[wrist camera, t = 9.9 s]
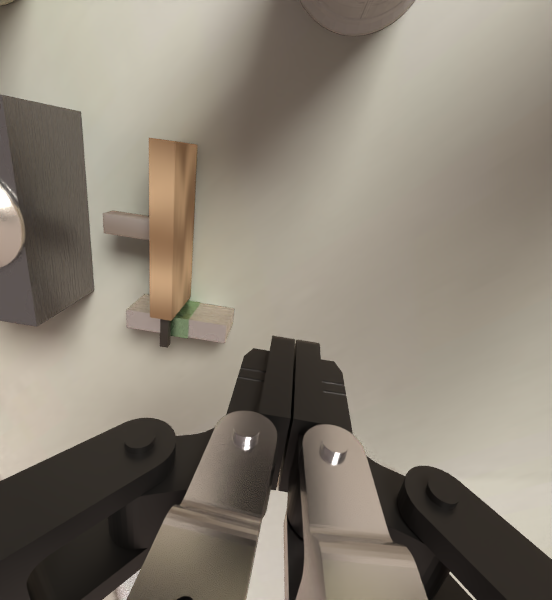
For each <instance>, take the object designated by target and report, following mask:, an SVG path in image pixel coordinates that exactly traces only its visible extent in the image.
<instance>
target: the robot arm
mask: <svg viewBox="0 0 552 600" xmlns="http://www.w3.org/2000/svg"><path fill="white" fill-rule="evenodd" d="M294 348H295V349H294ZM279 472H280V477H279ZM278 477H279V490H278V491H284V492H288V502H287V510H286V515H285V519H284V589H285V600H473V599H472V598H471V597H470V596H469V595H468V594H467V593H466V592H465V591H464V590H463V588H462V587H461V586H460V585H459V584H458V583H457V582H456V581H455V580H454V579H453V578H452V577H451V575H450V574H449V572H451V573H452V574H453V575H454V576H455V577H456V578H457V579H458V580H459V581H460V582H461V583H462V584H463V586H464V587H465V588H466V589H467V590H468V591H469V592H470V593H471V594H472V595H473V596H474V597H475V598H476V600H552V559H551V558H549V557H548V556H547V555H546V554H545V553H543V552H542V551H541V550H540V549H539V548H538V547H536V546H535V545H534V544H533V543H532V542H530V541H529V540H528V539H527V538H526V537H525V536H523V535H522V534H521V533H520V532H519V531H517V530H516V529H515V528H514V527H513V526H512V525H510V524H509V523H508V522H507V521H506V520H504V519H503V518H502V517H501V516H500V515H499V514H497V513H496V512H495V511H494V510H493V509H491V508H490V507H489V506H488V505H487V504H486V503H484V502H483V501H482V500H481V499H480V498H478V497H477V496H476V495H475V494H474V493H473V492H471V491H470V490H469V489H468V488H467V487H465V486H464V485H463V484H462V483H461V482H460V481H458V480H457V479H456V478H454V477H453V476H451V475H450V474H448V473H446V472H444V471H442V470H440V469H437V468H434V467H430V466H417V467H414V468H412V469H410V470H409V471H408V473H407V474H406V476H403V475H401V474H399V473H397V472H394V471H392V470H390V469H388V468H385V467H383V466H381V465H379V464H377V463H376V462H374V461H373V460H371V459H370V458H369V457H367V456H366V453H365V450H364V448H363V446H362V444H361V442H360V441H359V440H358V439H357V438H356V437H355V436H354V435H353V433H352V427H351V421H350V415H349V409H348V404H347V398H346V392H345V386H344V380H343V374H342V372H341V370H340V369H339V368H338V366H337V365H336V364H335V362H333V361H327V360H321V356H320V344H319V343H314V342H308V341H302V340H296V344H295V339H289V338H283V337H277V336H272V341H271V347H270V351H266V350H260V349H254V348H253V349H252V350H251V351H250V352H249V353H247V354H246V355H245V356H244V358H243V362H242V365H241V369H240V371H239V375H238V378H237V381H236V385H235V388H234V391H233V394H232V398H231V401H230V404H229V408H228V411H227V414H226V416H224V417H223V418H221V419H220V420H219V422H218V423H217V425H216V427H215V428H213V429H211V430H209V431H206V432H203V433H200V434H193V435H183V436H175V433H174V430H173V429H172V428H171V426H169V425H168V424H167V423H165V422H164V421H161V420H159V419H154V418H139V419H134V420H130V421H128V422H125V423H123V424H121V425H119V426H117V427H114V428H112V429H110V430H108V431H106V432H104V433H102V434H100V435H97V436H95V437H93V438H91V439H89V440H87V441H85V442H83V443H80V444H78V445H76V446H74V447H72V448H70V449H68V450H66V451H63V452H61V453H59V454H57V455H55V456H53V457H51V458H49V459H47V460H44V461H42V462H40V463H38V464H36V465H34V466H32V467H30V468H27V469H25V470H23V471H21V472H19V473H17V474H15V475H13V476H10V477H8V478H6V479H4V480H2V481H0V600H102V599H104V598H105V597H106V596H107V595H109V594H110V593H111V592H112V591H114V590H115V589H116V588H117V587H119V586H120V585H121V584H122V583H124V582H125V581H126V580H127V579H128V578H130V577H131V576H132V575H133V574H135V573H136V572H137V571H138V570H140V569H141V570H140V572H139V574H138V576H137V578H136V581H135V583H134V585H133V587H132V589H131V591H130V593H129V596H128V598H127V600H246V598H247V593H248V588H249V583H250V577H251V572H252V567H253V562H254V557H255V552H256V547H257V542H258V537H259V532H260V527H261V522H262V518H263V517H264V515H265V513H266V510H267V505H268V500H269V495H270V490H276V487H277V482H278Z"/></svg>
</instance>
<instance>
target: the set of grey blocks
mask: <svg viewBox="0 0 552 600" xmlns="http://www.w3.org/2000/svg"><path fill="white" fill-rule="evenodd" d="M92 291H94V281H93V268H92V255H91V241H90V228H89V214H88V201H87V188H86V174H85V161H84V147H83V134H82V121H81V112H80V111H75V110H71V109H66V108H61V107H56V106H52V105H47V104H42V103H38V102H33V101H28V100H24V99H19V98H14V97H9V96H5V95H0V321H6V322H12V323H19V324H25V325H31V326H39V325H40V324H42V323H43V322H45V321H46V320H48V319H50V318H51V317H53V316H54V315H56V314H58V313H59V312H61V311H62V310H64V309H65V308H67V307H69V306H70V305H72V304H73V303H75V302H77V301H78V300H80V299H81V298H83V297H85V296H86V295H88V294H89V293H91V292H92ZM233 316H234V308H228V307H221V306H215V305H209V304H202V303H200V302H193V301H187V302H186V303H185V305H184V306H183V307H182V308H181V309H180V311H179V312H178V313H177V314H176V316H175V317H174V318H173V319H172V321H171V334H170V336H175V337H182V338H188V337H189V338H195V339H202V340H208V341H214V342H220V343H225V342H226V339H227V337H228V335H229V332H230V330H231V327H232V325H233ZM126 317H127V328H133V329H139V330H146V331H152V332H158V333H160V319H157V318H151V317H150V295H146V294H144V295H143V296H142V297H140V298H139V299H138V300H137V301H136V302H135V303H133V304H132V305H131V306H130V307H129V308H128V309H126Z"/></svg>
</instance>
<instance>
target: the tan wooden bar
mask: <svg viewBox="0 0 552 600" xmlns="http://www.w3.org/2000/svg"><path fill="white" fill-rule="evenodd" d="M196 164H197V145H196V144H189V143H182V142H176V141H169V140H161V139H154V138H149V216H144V215H138V214H132V213H125V212H119V211H110V212H106V213H103V227H104V233H106V234H113V235H119V236H125V237H132V238H138V239H144V240H149V253H150V317H151V318H157V319H160V346H161V347H167V348H168V346H169V345H170V334H171V321H172V319H173V318H174V317H175V316H176V314H177V313H178V312H179V311H180V309H181V308H182V307H183V306H184V305H185V303H186V302H187V301H188V300H189V298H190V296H191V274H192V252H193V230H194V208H195V186H196Z"/></svg>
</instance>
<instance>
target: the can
mask: <svg viewBox="0 0 552 600" xmlns="http://www.w3.org/2000/svg"><path fill="white" fill-rule="evenodd" d="M13 1H14V0H0V6H1V5H5V4H8V3H10V2H13Z"/></svg>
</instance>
